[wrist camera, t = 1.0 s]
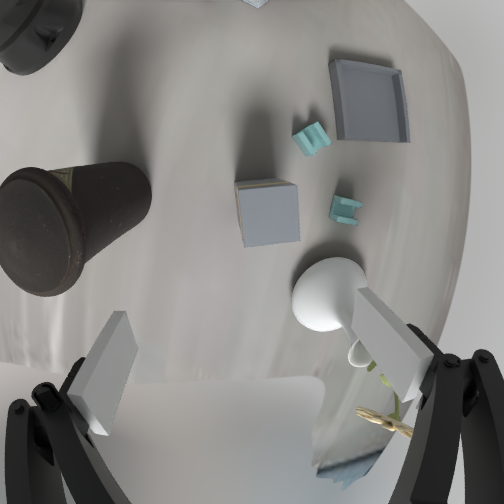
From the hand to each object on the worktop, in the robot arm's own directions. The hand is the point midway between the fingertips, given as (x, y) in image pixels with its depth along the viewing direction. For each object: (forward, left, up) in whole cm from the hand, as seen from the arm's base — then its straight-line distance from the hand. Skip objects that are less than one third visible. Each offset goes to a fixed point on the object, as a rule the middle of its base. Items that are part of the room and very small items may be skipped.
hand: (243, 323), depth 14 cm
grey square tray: (-15, +19, -20) cm, 32 cm away
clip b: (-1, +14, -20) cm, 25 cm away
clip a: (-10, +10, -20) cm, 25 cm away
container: (-6, -13, -20) cm, 25 cm away
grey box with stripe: (-3, +3, -20) cm, 21 cm away
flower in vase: (+11, +13, -20) cm, 26 cm away
